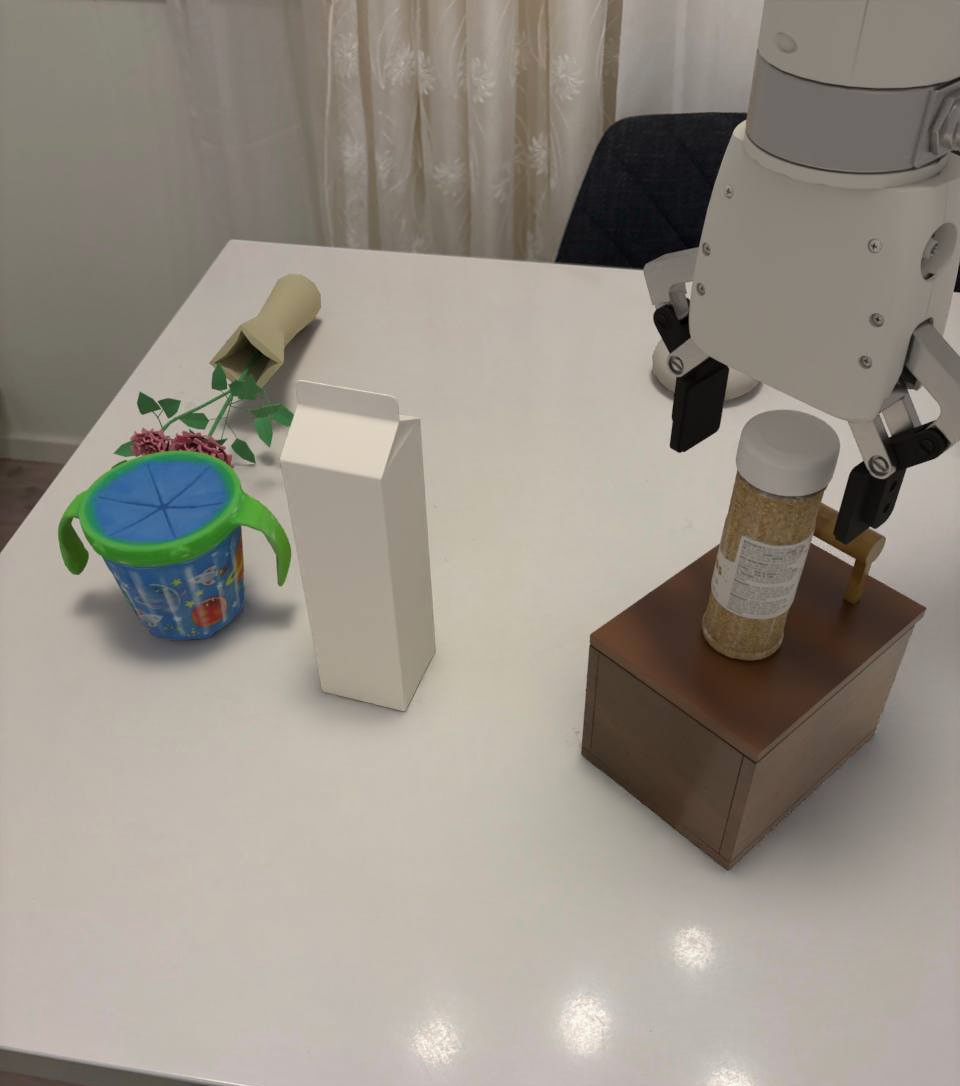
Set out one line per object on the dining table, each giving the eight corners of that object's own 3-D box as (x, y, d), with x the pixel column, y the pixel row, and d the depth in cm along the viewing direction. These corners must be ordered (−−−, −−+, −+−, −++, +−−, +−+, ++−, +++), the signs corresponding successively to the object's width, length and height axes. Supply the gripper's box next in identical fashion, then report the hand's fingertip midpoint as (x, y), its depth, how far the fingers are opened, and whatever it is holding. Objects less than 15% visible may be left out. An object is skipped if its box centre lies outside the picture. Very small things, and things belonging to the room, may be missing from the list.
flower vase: (337, 400, 109) (249, 566, 80) (219, 361, 108) (86, 516, 79) (365, 287, 103) (282, 423, 74) (240, 245, 102) (105, 366, 73)
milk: (356, 632, 76) (316, 349, 60) (437, 650, 74) (418, 366, 59) (320, 694, 71) (268, 408, 56) (406, 714, 70) (376, 427, 54)
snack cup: (57, 645, 75) (10, 532, 68) (124, 548, 82) (87, 436, 75) (269, 678, 73) (243, 564, 65) (319, 575, 80) (300, 462, 72)
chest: (728, 639, 74) (750, 529, 67) (874, 734, 68) (915, 624, 61) (580, 753, 68) (588, 644, 61) (727, 871, 61) (755, 764, 54)
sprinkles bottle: (708, 597, 62) (751, 397, 52) (789, 616, 61) (848, 416, 51) (692, 653, 59) (733, 452, 49) (776, 674, 58) (836, 472, 48)
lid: (758, 523, 68) (774, 449, 64) (923, 617, 62) (952, 542, 58) (588, 643, 60) (594, 568, 57) (756, 763, 54) (775, 689, 50)
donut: (627, 378, 98) (713, 422, 92) (629, 344, 95) (717, 387, 90) (700, 339, 102) (785, 379, 97) (704, 305, 100) (792, 344, 94)
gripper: (1131, 144, 37) (977, 531, 49) (730, 33, 46) (683, 382, 58) (1020, 212, 34) (884, 610, 46) (609, 77, 43) (587, 439, 55)
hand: (771, 482), depth 52 cm, fingers open, 9 cm apart
